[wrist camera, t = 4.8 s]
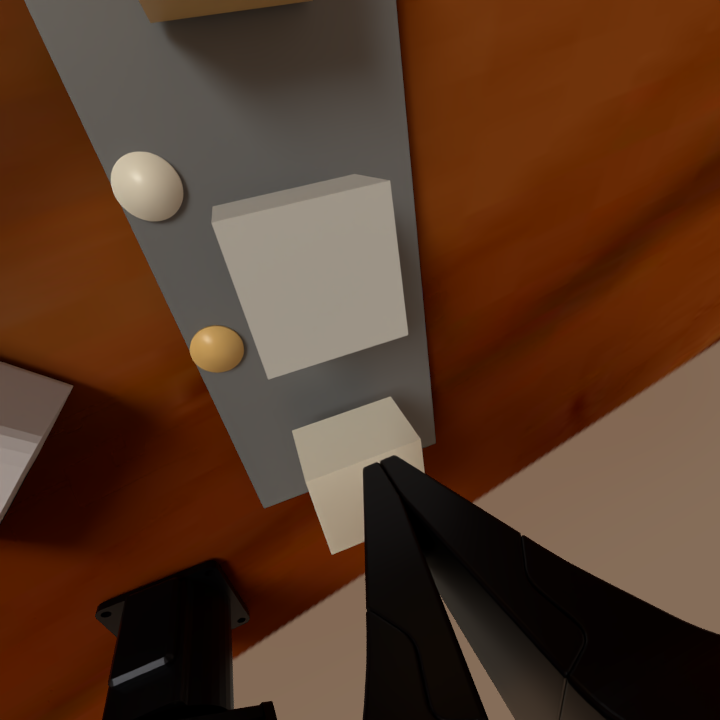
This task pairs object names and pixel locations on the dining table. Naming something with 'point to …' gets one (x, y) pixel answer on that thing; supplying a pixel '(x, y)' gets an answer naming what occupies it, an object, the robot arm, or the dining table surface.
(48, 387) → the charger
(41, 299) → the dining table surface
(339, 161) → the keypad base
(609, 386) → the dining table surface
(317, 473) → the key cream
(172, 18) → the key amber
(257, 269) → the key grey
